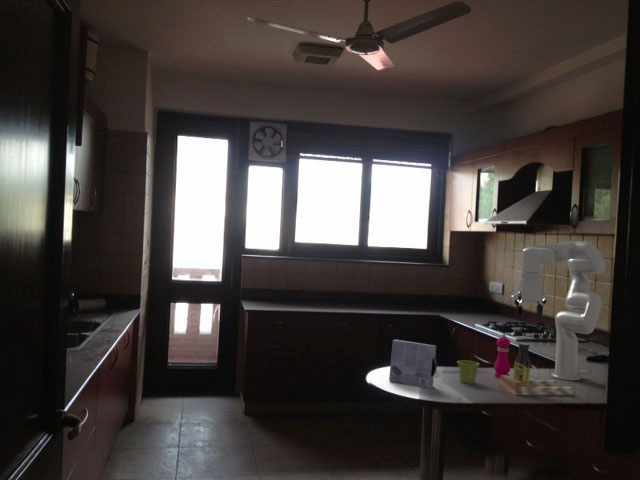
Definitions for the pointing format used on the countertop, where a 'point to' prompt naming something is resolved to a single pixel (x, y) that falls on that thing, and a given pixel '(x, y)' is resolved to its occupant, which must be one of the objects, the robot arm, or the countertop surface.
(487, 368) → the countertop surface
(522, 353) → the sauce bottle
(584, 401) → the countertop surface
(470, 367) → the plant pot
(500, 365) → the pepper mill
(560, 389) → the guide track
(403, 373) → the cake pan box
